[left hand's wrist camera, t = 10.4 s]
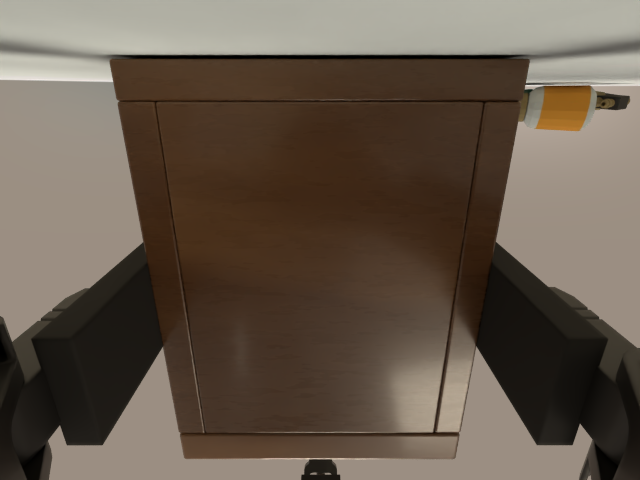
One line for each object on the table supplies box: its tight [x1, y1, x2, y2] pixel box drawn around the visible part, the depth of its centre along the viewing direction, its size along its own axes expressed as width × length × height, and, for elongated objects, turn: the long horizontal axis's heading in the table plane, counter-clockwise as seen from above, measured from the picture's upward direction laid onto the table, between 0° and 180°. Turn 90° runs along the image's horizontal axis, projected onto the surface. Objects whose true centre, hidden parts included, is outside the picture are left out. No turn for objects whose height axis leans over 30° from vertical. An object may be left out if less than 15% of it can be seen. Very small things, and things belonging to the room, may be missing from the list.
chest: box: [110, 59, 530, 433], centre depth 18 cm, size 18×9×11 cm, turn 0°
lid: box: [180, 431, 459, 459], centre depth 22 cm, size 19×9×8 cm, turn 0°
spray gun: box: [518, 85, 630, 131], centre depth 43 cm, size 4×17×15 cm
